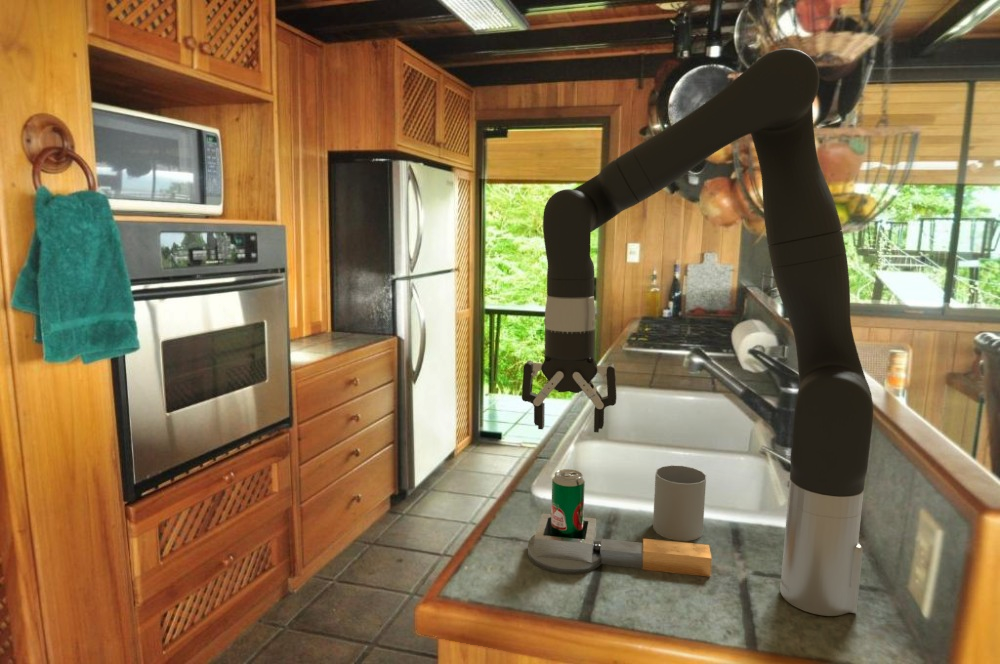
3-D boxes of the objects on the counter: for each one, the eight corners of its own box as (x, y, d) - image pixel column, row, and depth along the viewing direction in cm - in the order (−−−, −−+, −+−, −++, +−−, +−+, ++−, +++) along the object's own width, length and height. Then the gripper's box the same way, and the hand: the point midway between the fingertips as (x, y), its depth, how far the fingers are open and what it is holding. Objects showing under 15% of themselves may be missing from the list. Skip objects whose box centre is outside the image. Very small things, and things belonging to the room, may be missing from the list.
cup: (701, 544, 112) (705, 486, 111) (650, 536, 115) (653, 480, 113) (703, 522, 120) (707, 468, 119) (656, 515, 123) (658, 462, 121)
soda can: (545, 541, 110) (546, 470, 107) (572, 536, 112) (574, 466, 109) (560, 556, 105) (562, 482, 103) (588, 550, 107) (591, 477, 105)
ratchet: (705, 550, 110) (707, 524, 109) (713, 590, 98) (715, 561, 98) (534, 533, 116) (534, 508, 115) (522, 569, 104) (522, 541, 103)
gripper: (618, 323, 104) (616, 425, 107) (527, 320, 107) (526, 420, 110) (617, 331, 97) (614, 440, 100) (518, 328, 100) (518, 434, 103)
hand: (568, 429), depth 105 cm, fingers open, 8 cm apart
